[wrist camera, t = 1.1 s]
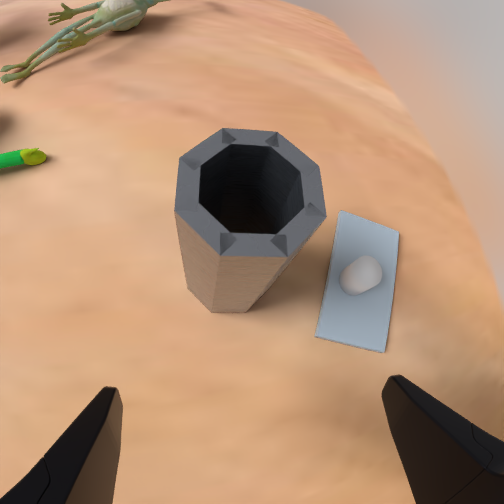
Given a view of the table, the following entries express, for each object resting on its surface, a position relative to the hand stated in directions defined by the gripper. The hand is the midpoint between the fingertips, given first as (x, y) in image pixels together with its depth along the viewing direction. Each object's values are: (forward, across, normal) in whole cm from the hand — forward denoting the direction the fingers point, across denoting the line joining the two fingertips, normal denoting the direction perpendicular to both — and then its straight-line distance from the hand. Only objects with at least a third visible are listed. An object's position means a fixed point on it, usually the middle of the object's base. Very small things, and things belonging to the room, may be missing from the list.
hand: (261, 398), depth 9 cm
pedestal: (+15, -11, +4) cm, 19 cm away
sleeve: (+15, 0, +4) cm, 16 cm away
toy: (+38, +18, -19) cm, 47 cm away
